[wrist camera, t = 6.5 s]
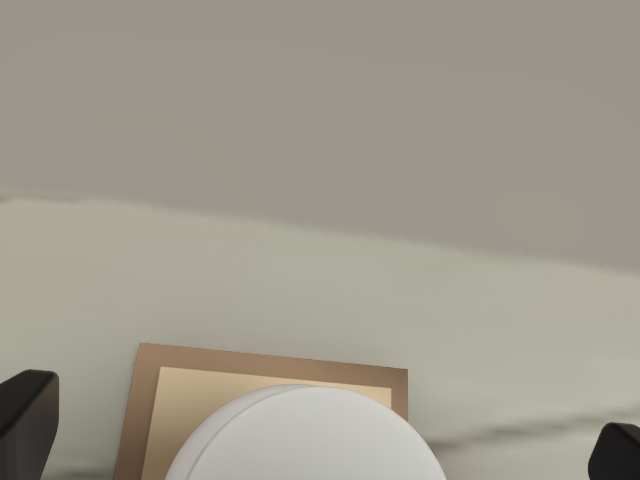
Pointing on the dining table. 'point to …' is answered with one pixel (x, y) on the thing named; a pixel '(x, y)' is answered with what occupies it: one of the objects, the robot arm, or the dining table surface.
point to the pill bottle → (304, 439)
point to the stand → (222, 395)
